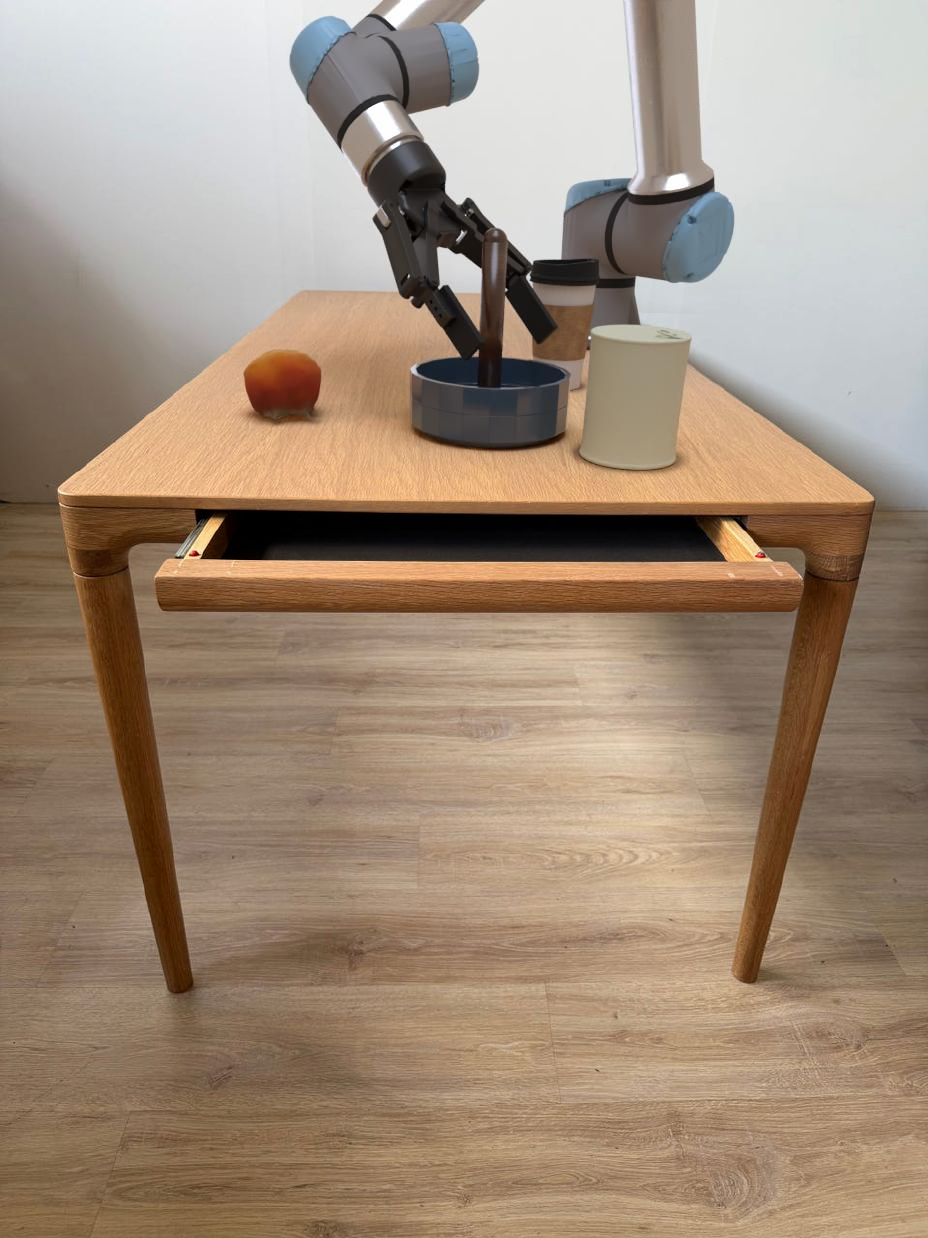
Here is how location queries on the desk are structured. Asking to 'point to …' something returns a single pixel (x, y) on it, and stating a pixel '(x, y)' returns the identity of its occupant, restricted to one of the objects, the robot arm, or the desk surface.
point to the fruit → (283, 383)
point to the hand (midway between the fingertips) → (513, 343)
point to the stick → (492, 307)
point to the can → (634, 396)
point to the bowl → (489, 402)
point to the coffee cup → (566, 310)
